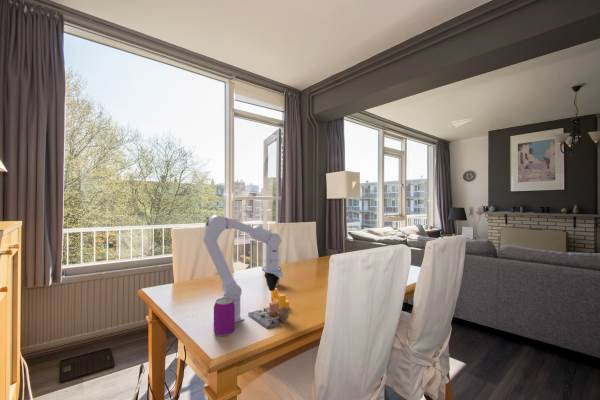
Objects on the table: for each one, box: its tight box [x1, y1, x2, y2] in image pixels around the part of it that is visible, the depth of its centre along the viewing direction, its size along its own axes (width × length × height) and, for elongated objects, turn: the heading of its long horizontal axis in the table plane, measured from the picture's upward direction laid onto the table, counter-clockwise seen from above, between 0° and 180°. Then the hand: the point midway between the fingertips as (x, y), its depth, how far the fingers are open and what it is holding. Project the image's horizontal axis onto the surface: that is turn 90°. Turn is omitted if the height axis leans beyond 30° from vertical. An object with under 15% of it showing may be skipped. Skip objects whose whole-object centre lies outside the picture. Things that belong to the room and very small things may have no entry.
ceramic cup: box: [264, 266, 282, 287], centre depth 169 cm, size 13×10×10 cm
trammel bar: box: [263, 306, 290, 324], centre depth 121 cm, size 9×15×6 cm, turn 38°
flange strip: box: [247, 309, 282, 330], centre depth 120 cm, size 6×16×2 cm, turn 38°
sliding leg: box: [259, 302, 279, 316], centre depth 122 cm, size 9×2×4 cm, turn 128°
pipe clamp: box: [270, 287, 290, 309], centre depth 137 cm, size 12×4×6 cm, turn 26°
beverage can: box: [213, 297, 236, 337], centre depth 109 cm, size 8×8×12 cm
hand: (271, 290), depth 128 cm, fingers closed
